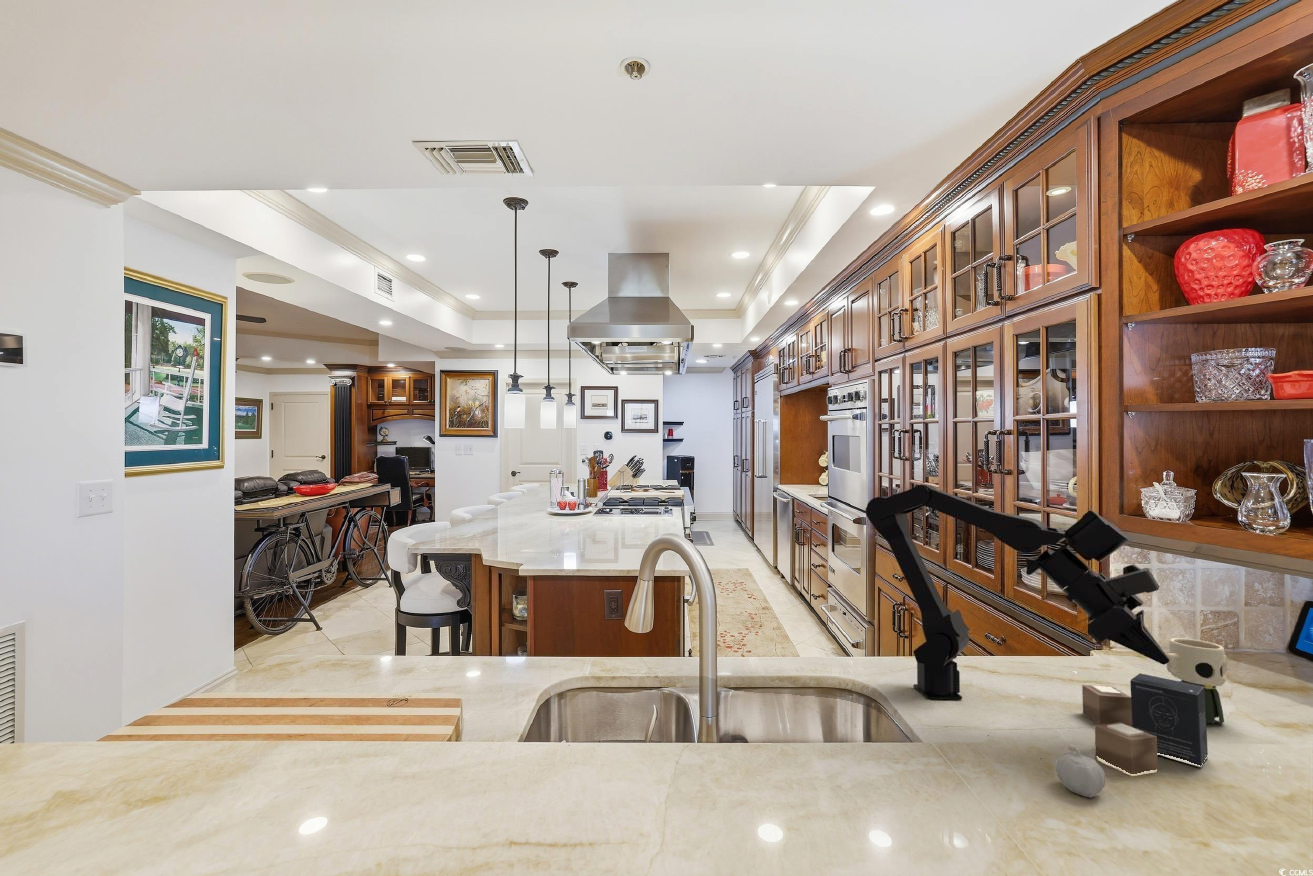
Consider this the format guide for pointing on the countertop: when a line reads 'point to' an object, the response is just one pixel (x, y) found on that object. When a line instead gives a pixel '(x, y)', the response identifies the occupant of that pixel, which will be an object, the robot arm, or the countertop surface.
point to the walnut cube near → (1126, 747)
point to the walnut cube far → (1106, 705)
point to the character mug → (1200, 670)
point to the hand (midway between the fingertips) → (1167, 662)
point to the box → (1171, 716)
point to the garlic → (1080, 773)
